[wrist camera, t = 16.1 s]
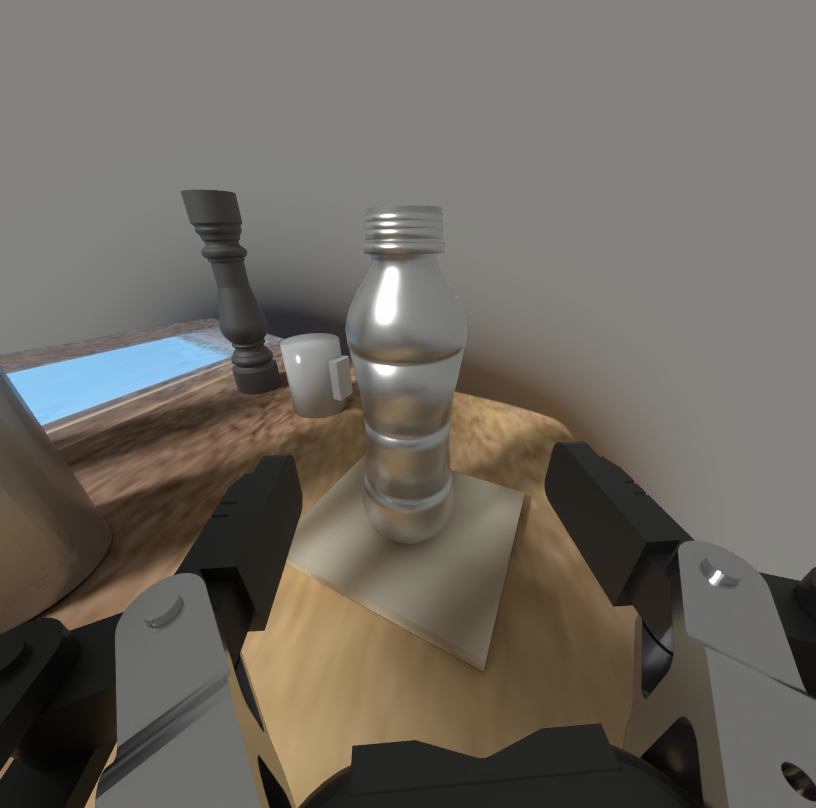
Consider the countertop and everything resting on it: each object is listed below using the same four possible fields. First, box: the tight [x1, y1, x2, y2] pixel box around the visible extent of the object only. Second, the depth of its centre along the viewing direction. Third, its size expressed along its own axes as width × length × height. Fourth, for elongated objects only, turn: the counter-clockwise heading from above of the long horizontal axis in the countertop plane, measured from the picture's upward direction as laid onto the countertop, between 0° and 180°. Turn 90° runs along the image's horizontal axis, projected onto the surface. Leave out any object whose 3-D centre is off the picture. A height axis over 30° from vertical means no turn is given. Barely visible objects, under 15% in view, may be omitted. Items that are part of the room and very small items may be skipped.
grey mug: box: [280, 333, 353, 418], centre depth 40 cm, size 8×7×9 cm
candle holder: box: [181, 190, 281, 394], centre depth 43 cm, size 6×6×25 cm
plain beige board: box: [286, 453, 525, 672], centre depth 24 cm, size 15×13×1 cm
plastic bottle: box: [345, 206, 468, 544], centre depth 19 cm, size 6×7×20 cm
